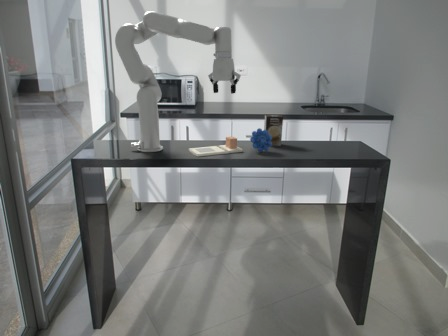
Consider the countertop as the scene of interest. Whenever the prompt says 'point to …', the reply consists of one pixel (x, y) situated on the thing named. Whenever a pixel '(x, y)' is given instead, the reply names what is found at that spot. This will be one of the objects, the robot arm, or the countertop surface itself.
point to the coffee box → (274, 128)
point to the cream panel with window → (208, 151)
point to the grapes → (261, 140)
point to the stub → (231, 145)
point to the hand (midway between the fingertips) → (224, 93)
